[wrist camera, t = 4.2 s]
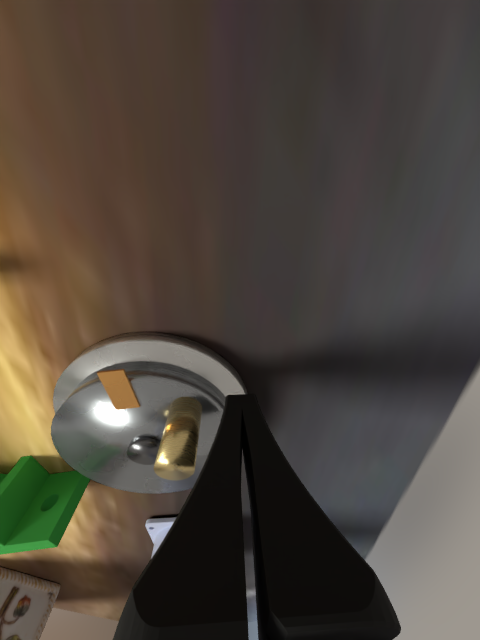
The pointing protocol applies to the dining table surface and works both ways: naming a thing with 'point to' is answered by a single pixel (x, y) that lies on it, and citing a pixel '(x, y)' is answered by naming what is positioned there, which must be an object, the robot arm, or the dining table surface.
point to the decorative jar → (24, 605)
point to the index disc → (139, 426)
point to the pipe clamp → (36, 505)
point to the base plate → (152, 350)
